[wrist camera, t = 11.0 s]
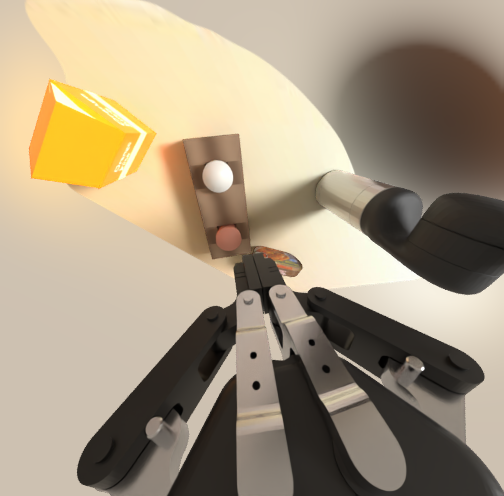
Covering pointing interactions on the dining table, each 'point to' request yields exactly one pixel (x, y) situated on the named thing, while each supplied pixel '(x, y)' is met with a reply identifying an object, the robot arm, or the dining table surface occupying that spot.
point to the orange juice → (85, 138)
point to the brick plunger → (228, 237)
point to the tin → (281, 260)
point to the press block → (225, 203)
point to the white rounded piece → (217, 176)
